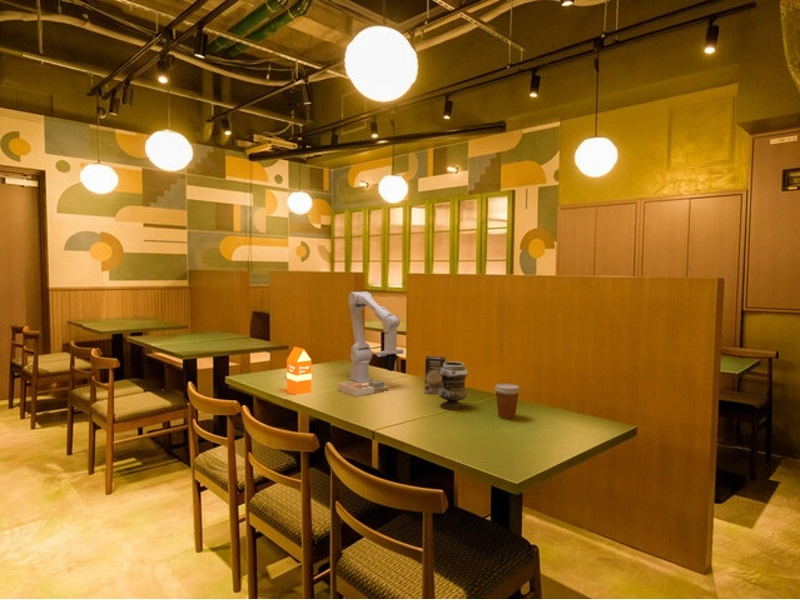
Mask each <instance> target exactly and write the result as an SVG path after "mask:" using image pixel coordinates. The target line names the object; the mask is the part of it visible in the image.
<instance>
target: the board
mask: <svg viewBox="0 0 800 600" xmlns="http://www.w3.org/2000/svg"><path fill="white" fill-rule="evenodd" d="M370 381H371V380H369V381H363V382H357V383H359V384H362V386H363V387H366V388H370V387H371V386H369V382H370ZM373 390H374V394H380V393H379V392H381V393H385V392H384V391H386V392H389V391H390V386H388V385H385V384H384V387H379V388H374V387H373Z"/></svg>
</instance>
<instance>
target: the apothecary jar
mask: <svg viewBox="0 0 800 600" xmlns="http://www.w3.org/2000/svg"><path fill="white" fill-rule="evenodd" d="M439 374H440V376H441V377H442V385H441V387H440V389H439V390H438V394H437V395H439V397H440V398H442V399H443V400H446V401H444V402H441V403H440V407H441V408H443V409H445V410H460V409H464V408H465V404H464V403H461V402H460V401H462V400H464V399H466V398H467V396H468V390H467V389H466V382H465V381H466V378H467V377H468V375H469V372H468V370H467V368H465V363H463V362H462V361H453V360H451V361H450V360H449V361H445V362H444V363H443V367H442V368H441V369H440V370H439Z"/></svg>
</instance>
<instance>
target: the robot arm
mask: <svg viewBox="0 0 800 600" xmlns="http://www.w3.org/2000/svg"><path fill="white" fill-rule="evenodd" d="M347 299H348V306H349V311H350V313H349V314H350V319H351V320H350V321H351V325H352V327H351V328H352V332H353V333H352V334H353V339H354V340H353V341H354V344H353V345H352V346H351V347H350V359H351V361H352V362H351V363H350V367H349V368H350V370H349V373H350V374H349V375H350V376H349V378H348V380H352V381H355V382H356V383H358V382H364V381H373V378H369V377H370V376H369V374H370V373H369V372H370V371H369V370H370V368H369V365H370V362H371V360H372V358H373V351H372V349H371V345H370V344H369V343H367V342H366V336H365V329H364V322H363V316H362V310H363V309H364V308H365V307H368V308H369V309H371V310H372V311H373V312H374V316H375V317H376V318H377V319H378V320H379V321H380V322H381V325H382V327H383V332H384V350H381V351H377V352H376V357H378V358H380V357H382V358H383V360H384V361H385V364H386V368H387V371H390V372H392V371H393V370H394V367H395V363H396V361H397V359H398V358H399V357H398V355H403V354H404V349H401V348H400V349H397V345H398V343H397V342H398V338H397V337H398V327H399V326H400V322H401V321H400V318H399V317H398V315H395V314H392V313H391V312H390V311H388V310H387V308H386V306H384V305H383V306H380V305H379V304H378V303H377V302H376V301H375V299H373V295H372V294H371V293H370V292H369V291H352V292H350V293H349V295H348V298H347Z"/></svg>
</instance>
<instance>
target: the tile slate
mask: <svg viewBox="0 0 800 600" xmlns="http://www.w3.org/2000/svg"><path fill="white" fill-rule="evenodd" d="M369 381H370V382H369V386H371V387H374V388H379V387H384V385H385V381H381V380H378V379H377V380H369Z"/></svg>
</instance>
